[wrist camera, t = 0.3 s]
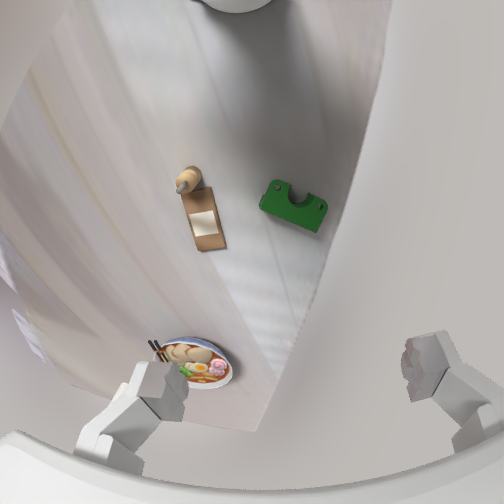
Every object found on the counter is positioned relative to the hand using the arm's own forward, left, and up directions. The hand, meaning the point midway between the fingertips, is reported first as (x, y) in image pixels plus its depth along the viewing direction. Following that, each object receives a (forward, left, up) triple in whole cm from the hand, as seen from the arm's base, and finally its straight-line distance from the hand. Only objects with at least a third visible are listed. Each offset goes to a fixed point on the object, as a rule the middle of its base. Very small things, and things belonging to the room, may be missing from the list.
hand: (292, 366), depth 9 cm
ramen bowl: (+53, -31, -47) cm, 77 cm away
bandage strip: (+14, -17, -46) cm, 51 cm away
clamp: (+12, +1, -47) cm, 48 cm away
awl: (+4, -17, -47) cm, 50 cm away
